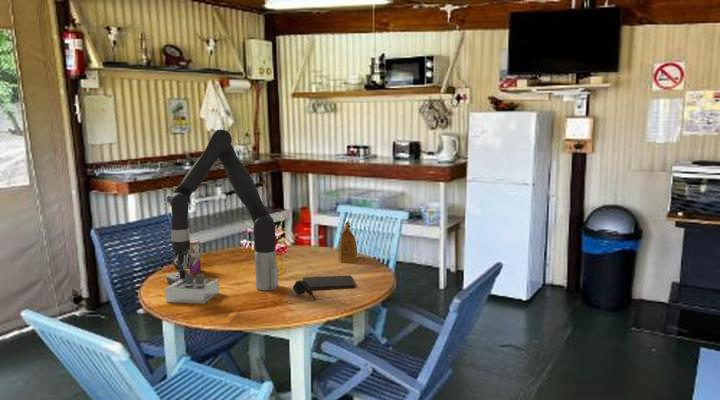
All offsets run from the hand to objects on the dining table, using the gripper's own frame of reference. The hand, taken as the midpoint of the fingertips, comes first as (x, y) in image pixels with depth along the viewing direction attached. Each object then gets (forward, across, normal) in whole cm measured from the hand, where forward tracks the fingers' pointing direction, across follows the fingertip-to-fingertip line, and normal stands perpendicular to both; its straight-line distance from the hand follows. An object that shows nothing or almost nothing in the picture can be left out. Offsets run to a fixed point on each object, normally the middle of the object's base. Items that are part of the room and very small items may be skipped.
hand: (183, 278), depth 235 cm
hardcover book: (+9, +24, -59) cm, 64 cm away
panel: (+8, -1, -5) cm, 9 cm away
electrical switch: (+8, +16, +8) cm, 20 cm away
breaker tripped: (+1, +3, 0) cm, 4 cm away
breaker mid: (+1, -4, -5) cm, 6 cm away
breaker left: (+1, -4, -10) cm, 11 cm away
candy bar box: (+8, +34, +14) cm, 38 cm away
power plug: (+10, +2, -57) cm, 58 cm away
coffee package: (+8, +63, -62) cm, 89 cm away
